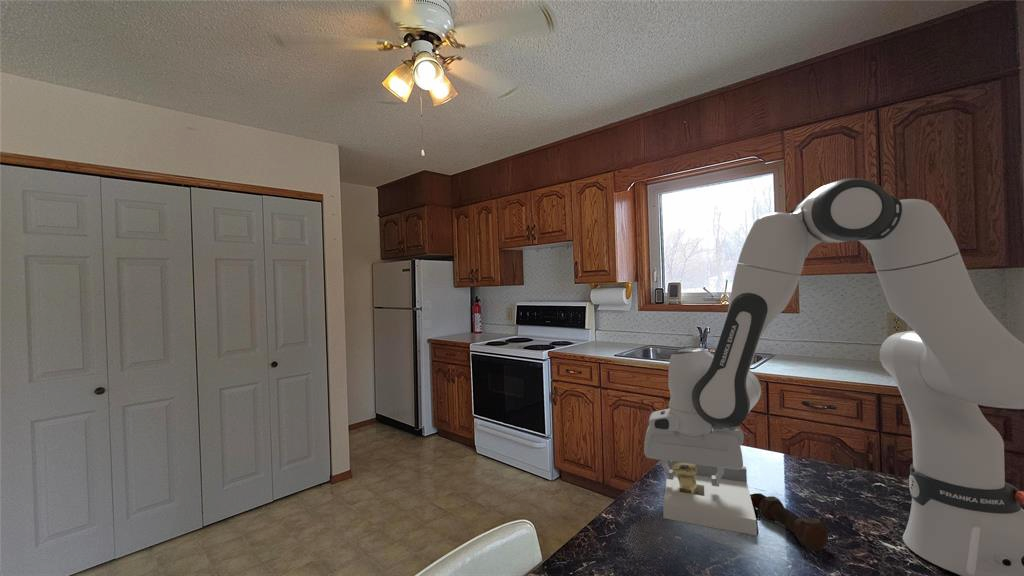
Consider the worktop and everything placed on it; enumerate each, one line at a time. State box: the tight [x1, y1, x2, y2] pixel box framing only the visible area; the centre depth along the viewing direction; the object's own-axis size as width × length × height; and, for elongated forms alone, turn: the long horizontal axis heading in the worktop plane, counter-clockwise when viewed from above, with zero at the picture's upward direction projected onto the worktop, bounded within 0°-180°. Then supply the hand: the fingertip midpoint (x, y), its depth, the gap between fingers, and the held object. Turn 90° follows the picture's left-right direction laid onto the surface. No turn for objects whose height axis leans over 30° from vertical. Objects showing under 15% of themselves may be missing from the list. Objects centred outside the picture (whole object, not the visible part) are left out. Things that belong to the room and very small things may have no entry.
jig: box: [662, 461, 758, 537], centre depth 92 cm, size 17×18×6 cm
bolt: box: [750, 492, 829, 552], centre depth 83 cm, size 6×5×15 cm
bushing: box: [672, 463, 699, 495], centre depth 94 cm, size 5×5×7 cm
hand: (692, 482), depth 93 cm, fingers open, 8 cm apart
